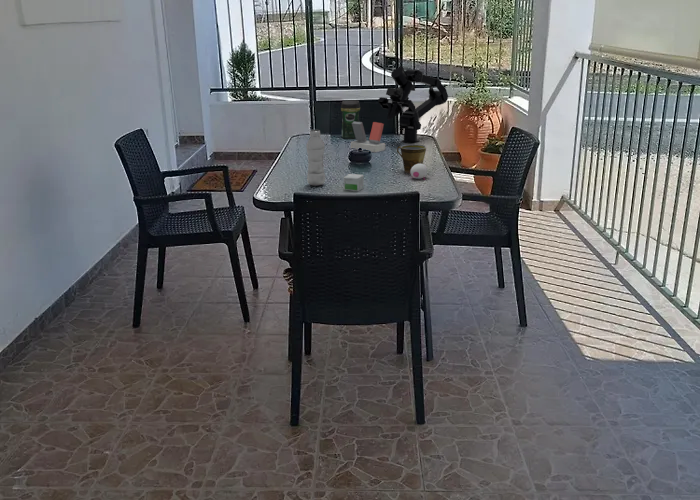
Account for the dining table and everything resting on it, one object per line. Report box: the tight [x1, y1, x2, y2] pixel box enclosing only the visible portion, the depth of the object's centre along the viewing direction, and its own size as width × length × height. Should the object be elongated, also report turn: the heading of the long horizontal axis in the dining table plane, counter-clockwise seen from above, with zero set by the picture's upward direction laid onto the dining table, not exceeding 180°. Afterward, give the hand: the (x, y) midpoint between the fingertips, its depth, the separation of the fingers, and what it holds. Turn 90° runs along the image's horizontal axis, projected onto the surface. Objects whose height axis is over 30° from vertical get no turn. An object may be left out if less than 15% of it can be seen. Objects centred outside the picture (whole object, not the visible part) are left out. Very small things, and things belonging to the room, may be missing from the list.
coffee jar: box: [340, 99, 361, 140], centre depth 323 cm, size 10×8×19 cm
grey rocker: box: [352, 121, 368, 142], centre depth 297 cm, size 2×5×9 cm, turn 47°
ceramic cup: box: [396, 143, 427, 175], centre depth 254 cm, size 13×10×10 cm
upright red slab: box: [368, 121, 385, 144], centre depth 294 cm, size 2×5×9 cm, turn 47°
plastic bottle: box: [306, 129, 326, 187], centre depth 234 cm, size 6×7×20 cm
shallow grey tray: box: [350, 140, 386, 153], centre depth 298 cm, size 7×15×3 cm, turn 47°
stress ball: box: [410, 163, 429, 181], centre depth 244 cm, size 8×8×7 cm
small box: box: [343, 173, 365, 192], centre depth 231 cm, size 6×6×5 cm
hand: (388, 119), depth 298 cm, fingers closed
